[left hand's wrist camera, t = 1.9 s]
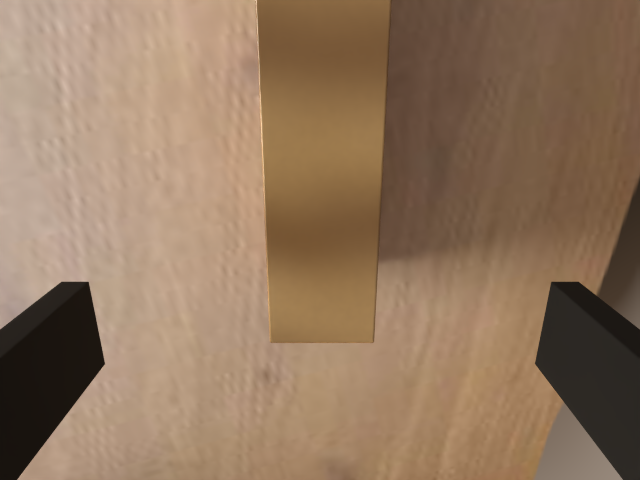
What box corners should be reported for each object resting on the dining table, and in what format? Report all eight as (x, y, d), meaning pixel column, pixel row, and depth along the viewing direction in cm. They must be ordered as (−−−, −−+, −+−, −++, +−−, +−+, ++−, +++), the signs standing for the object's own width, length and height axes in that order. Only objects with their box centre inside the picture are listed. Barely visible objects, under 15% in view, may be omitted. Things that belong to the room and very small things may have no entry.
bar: (357, 264, 27) (374, 343, 19) (284, 264, 27) (269, 343, 19) (373, -199, 19) (412, -401, 11) (271, -199, 19) (237, -403, 11)
